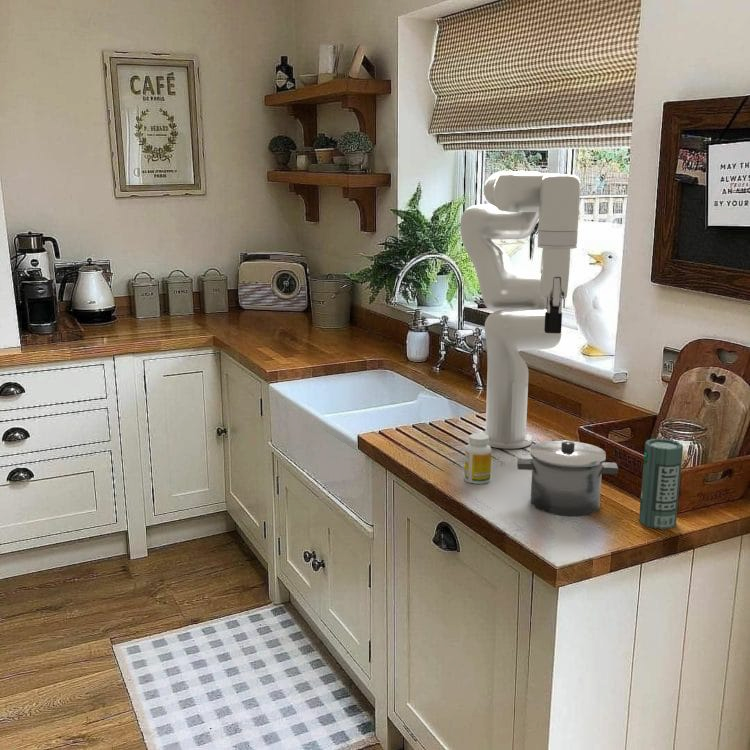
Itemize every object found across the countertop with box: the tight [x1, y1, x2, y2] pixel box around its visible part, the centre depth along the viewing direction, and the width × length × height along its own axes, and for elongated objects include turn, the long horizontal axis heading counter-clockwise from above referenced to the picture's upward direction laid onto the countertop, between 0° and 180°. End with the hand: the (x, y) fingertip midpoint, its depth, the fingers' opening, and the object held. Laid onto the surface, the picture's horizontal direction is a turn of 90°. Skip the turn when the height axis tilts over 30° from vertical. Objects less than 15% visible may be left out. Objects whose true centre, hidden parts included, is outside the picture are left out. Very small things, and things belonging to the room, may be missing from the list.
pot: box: [516, 458, 619, 517], centre depth 158 cm, size 13×19×9 cm
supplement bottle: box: [464, 432, 492, 485], centre depth 170 cm, size 5×5×10 cm
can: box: [638, 438, 684, 530], centre depth 149 cm, size 6×6×15 cm
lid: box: [529, 439, 607, 467], centre depth 157 cm, size 15×14×2 cm
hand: (552, 332), depth 165 cm, fingers closed
